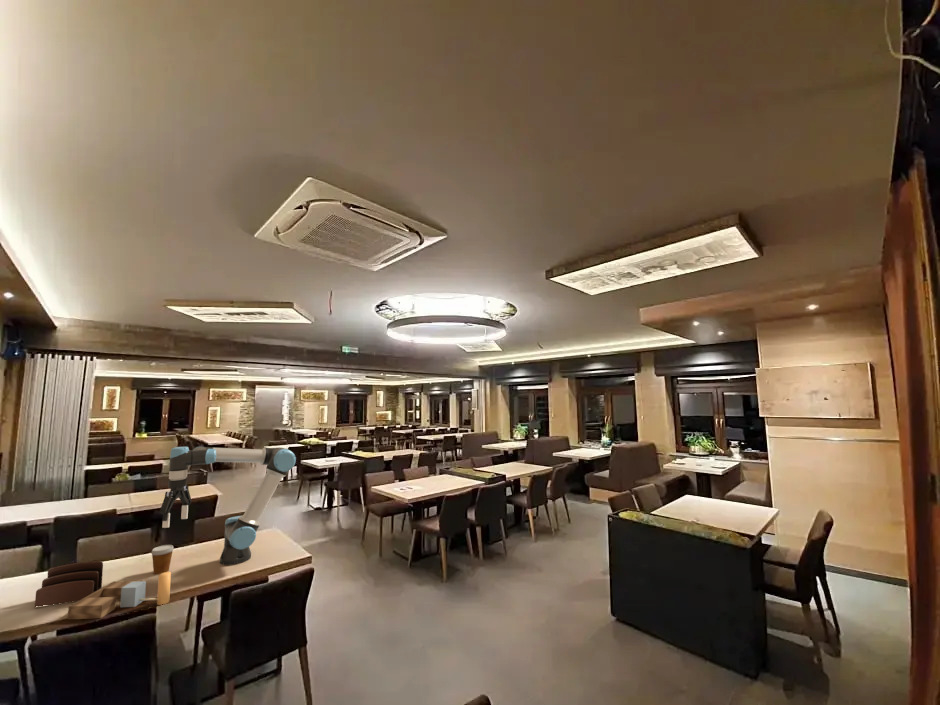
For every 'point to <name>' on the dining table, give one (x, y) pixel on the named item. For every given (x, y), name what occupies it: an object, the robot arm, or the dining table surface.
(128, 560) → the dining table surface
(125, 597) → the tethered block
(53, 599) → the letter holder
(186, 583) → the dining table surface
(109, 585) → the cubby lane
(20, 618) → the dining table surface
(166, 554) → the disposable coffee cup
